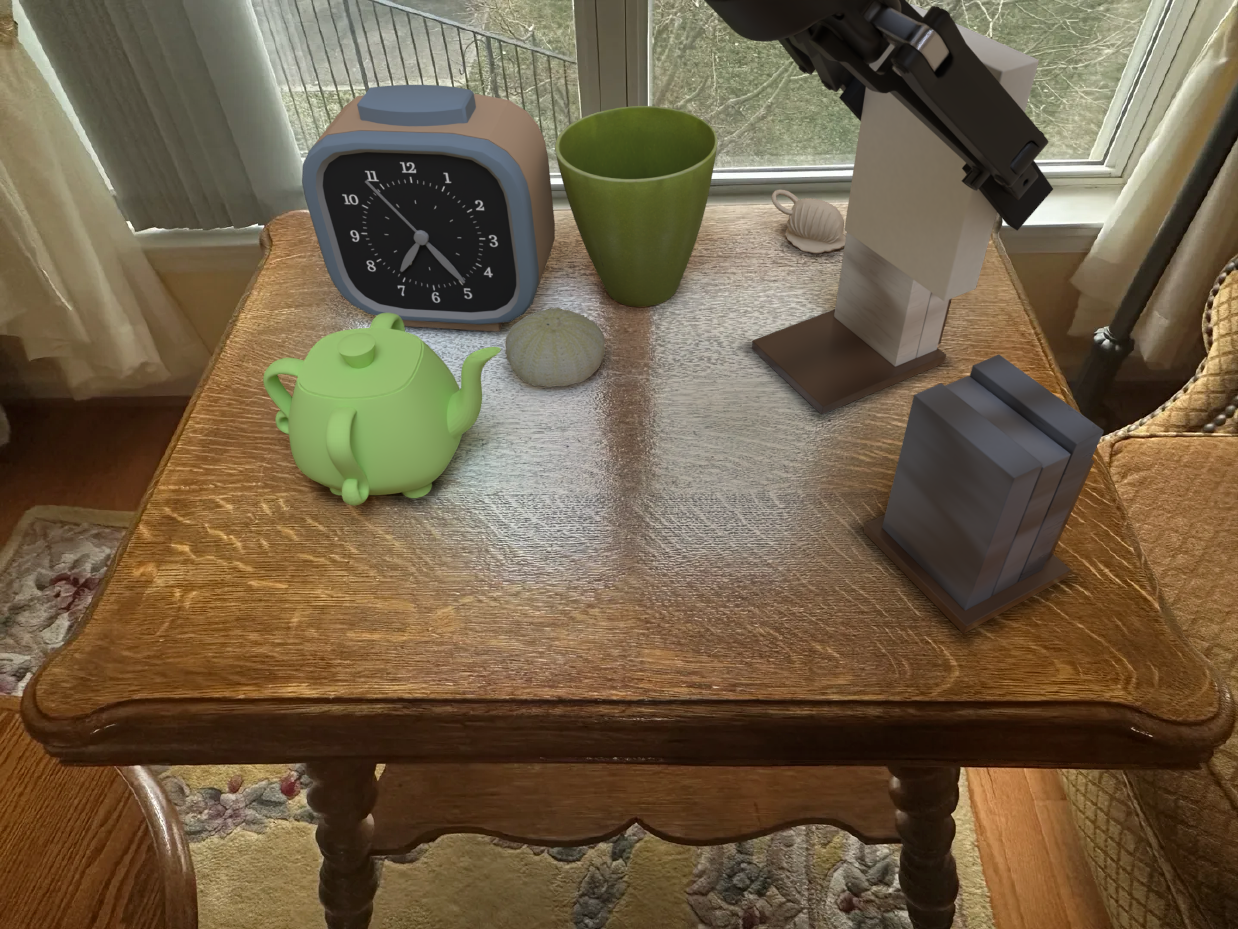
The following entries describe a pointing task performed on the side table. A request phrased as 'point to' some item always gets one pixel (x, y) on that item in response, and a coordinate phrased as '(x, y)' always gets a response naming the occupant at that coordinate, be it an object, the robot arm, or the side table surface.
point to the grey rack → (985, 491)
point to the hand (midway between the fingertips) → (965, 169)
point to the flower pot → (638, 195)
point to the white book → (926, 183)
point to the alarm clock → (433, 205)
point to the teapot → (375, 410)
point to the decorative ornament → (812, 224)
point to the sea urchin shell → (555, 348)
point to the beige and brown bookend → (860, 334)
